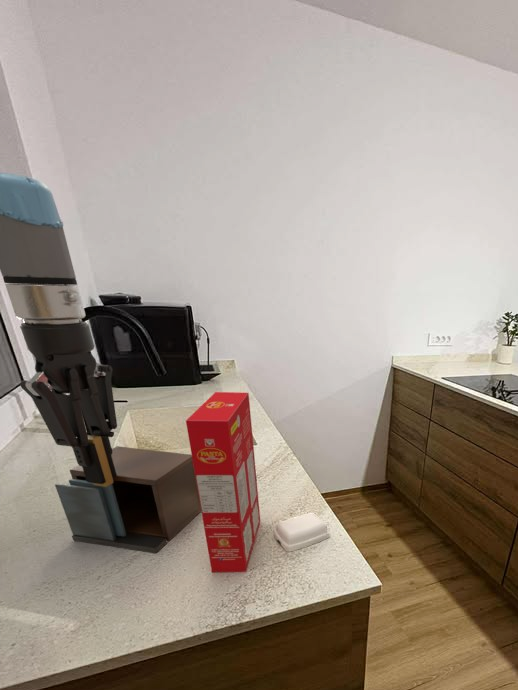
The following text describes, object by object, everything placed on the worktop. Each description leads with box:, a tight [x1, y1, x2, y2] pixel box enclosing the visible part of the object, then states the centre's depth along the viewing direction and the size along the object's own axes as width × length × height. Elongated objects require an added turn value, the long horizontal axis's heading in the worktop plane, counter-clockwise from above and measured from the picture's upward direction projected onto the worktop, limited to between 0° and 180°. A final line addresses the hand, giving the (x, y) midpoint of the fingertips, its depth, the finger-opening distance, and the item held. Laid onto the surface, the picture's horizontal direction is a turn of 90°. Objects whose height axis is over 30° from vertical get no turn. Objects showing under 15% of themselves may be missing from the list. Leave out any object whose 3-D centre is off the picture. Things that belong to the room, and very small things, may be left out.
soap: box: [273, 512, 331, 552], centre depth 70 cm, size 9×7×3 cm
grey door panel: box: [68, 434, 127, 537], centre depth 63 cm, size 8×2×18 cm, turn 80°
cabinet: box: [54, 446, 202, 554], centre depth 69 cm, size 16×14×12 cm
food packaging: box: [185, 391, 261, 573], centre depth 62 cm, size 15×5×25 cm, turn 4°
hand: (102, 478), depth 62 cm, fingers closed on grey door panel, 2 cm apart
